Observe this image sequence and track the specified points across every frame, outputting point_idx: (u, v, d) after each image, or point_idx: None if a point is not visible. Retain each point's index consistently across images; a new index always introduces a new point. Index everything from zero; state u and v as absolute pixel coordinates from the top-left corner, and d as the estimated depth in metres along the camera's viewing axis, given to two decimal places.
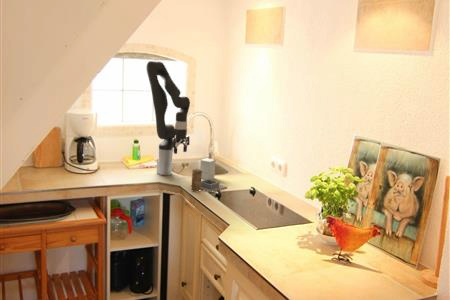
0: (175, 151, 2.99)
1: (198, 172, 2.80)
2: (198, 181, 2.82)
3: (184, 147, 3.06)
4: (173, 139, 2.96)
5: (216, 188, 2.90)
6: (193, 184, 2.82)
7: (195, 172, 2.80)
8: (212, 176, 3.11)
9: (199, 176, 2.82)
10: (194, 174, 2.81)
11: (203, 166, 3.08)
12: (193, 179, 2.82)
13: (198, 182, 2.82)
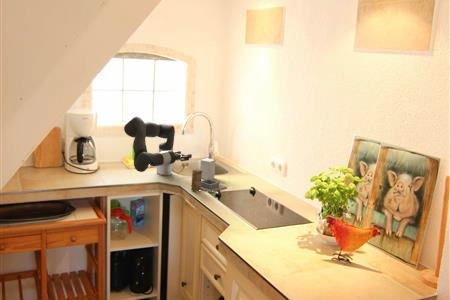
0: (190, 155, 2.66)
1: (198, 172, 2.80)
2: (198, 181, 2.82)
3: None
4: (182, 158, 2.59)
5: (216, 188, 2.90)
6: (193, 184, 2.82)
7: (195, 172, 2.80)
8: (212, 176, 3.11)
9: (199, 176, 2.82)
10: (194, 174, 2.81)
11: (203, 166, 3.08)
12: (193, 179, 2.82)
13: (198, 182, 2.82)
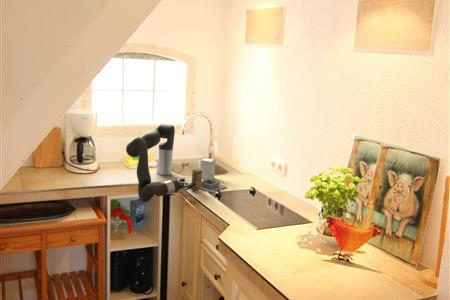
0: (194, 183, 2.73)
1: (198, 172, 2.80)
2: (198, 181, 2.82)
3: (181, 181, 2.77)
4: (186, 187, 2.66)
5: (216, 188, 2.90)
6: None
7: (195, 172, 2.80)
8: (212, 176, 3.11)
9: (199, 176, 2.82)
10: (194, 174, 2.81)
11: (203, 166, 3.08)
12: (193, 179, 2.82)
13: (198, 182, 2.82)
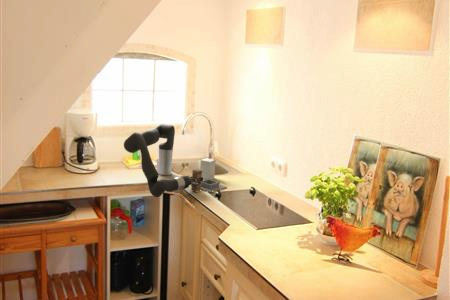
0: (201, 178, 2.82)
1: (198, 172, 2.80)
2: None
3: None
4: (197, 182, 2.74)
5: (216, 188, 2.90)
6: (193, 184, 2.82)
7: (195, 172, 2.80)
8: (212, 176, 3.11)
9: (199, 176, 2.82)
10: (194, 174, 2.81)
11: (203, 166, 3.08)
12: None
13: None
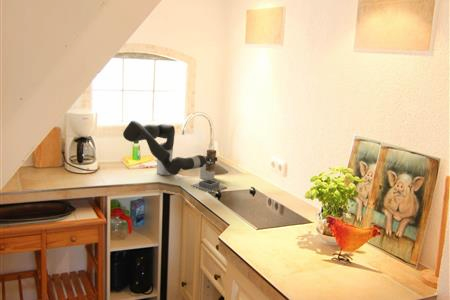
0: (216, 158, 2.88)
1: (212, 152, 2.87)
2: None
3: None
4: (212, 162, 2.81)
5: (216, 188, 2.90)
6: (207, 164, 2.89)
7: (210, 152, 2.87)
8: (212, 176, 3.11)
9: (214, 156, 2.88)
10: (209, 154, 2.87)
11: (203, 166, 3.08)
12: None
13: None
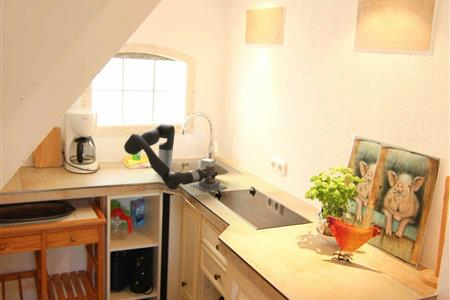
0: (216, 173, 2.89)
1: (211, 168, 2.89)
2: None
3: (204, 171, 2.93)
4: (210, 176, 2.82)
5: (216, 188, 2.90)
6: (206, 179, 2.91)
7: (208, 168, 2.89)
8: None
9: (213, 171, 2.91)
10: (207, 170, 2.90)
11: (203, 166, 3.08)
12: None
13: None
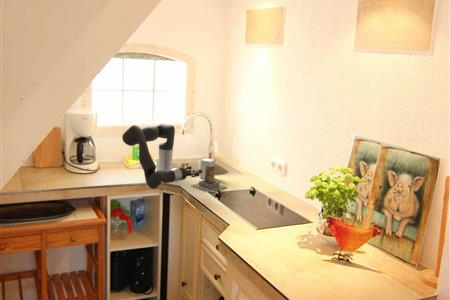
0: (200, 170, 2.77)
1: (211, 168, 2.89)
2: (211, 176, 2.91)
3: (188, 169, 2.81)
4: (193, 174, 2.70)
5: (216, 188, 2.90)
6: (206, 179, 2.91)
7: (208, 168, 2.89)
8: None
9: (213, 171, 2.91)
10: (207, 170, 2.90)
11: (203, 166, 3.08)
12: (206, 175, 2.91)
13: (211, 177, 2.91)
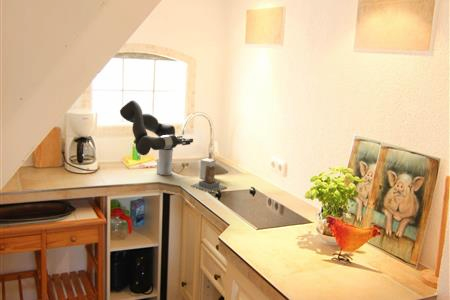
0: (191, 139, 2.71)
1: (211, 168, 2.89)
2: (211, 176, 2.91)
3: None
4: (184, 142, 2.64)
5: (216, 188, 2.90)
6: (206, 179, 2.91)
7: (208, 168, 2.89)
8: None
9: (213, 171, 2.91)
10: (207, 170, 2.90)
11: (203, 166, 3.08)
12: (206, 175, 2.91)
13: (211, 177, 2.91)
